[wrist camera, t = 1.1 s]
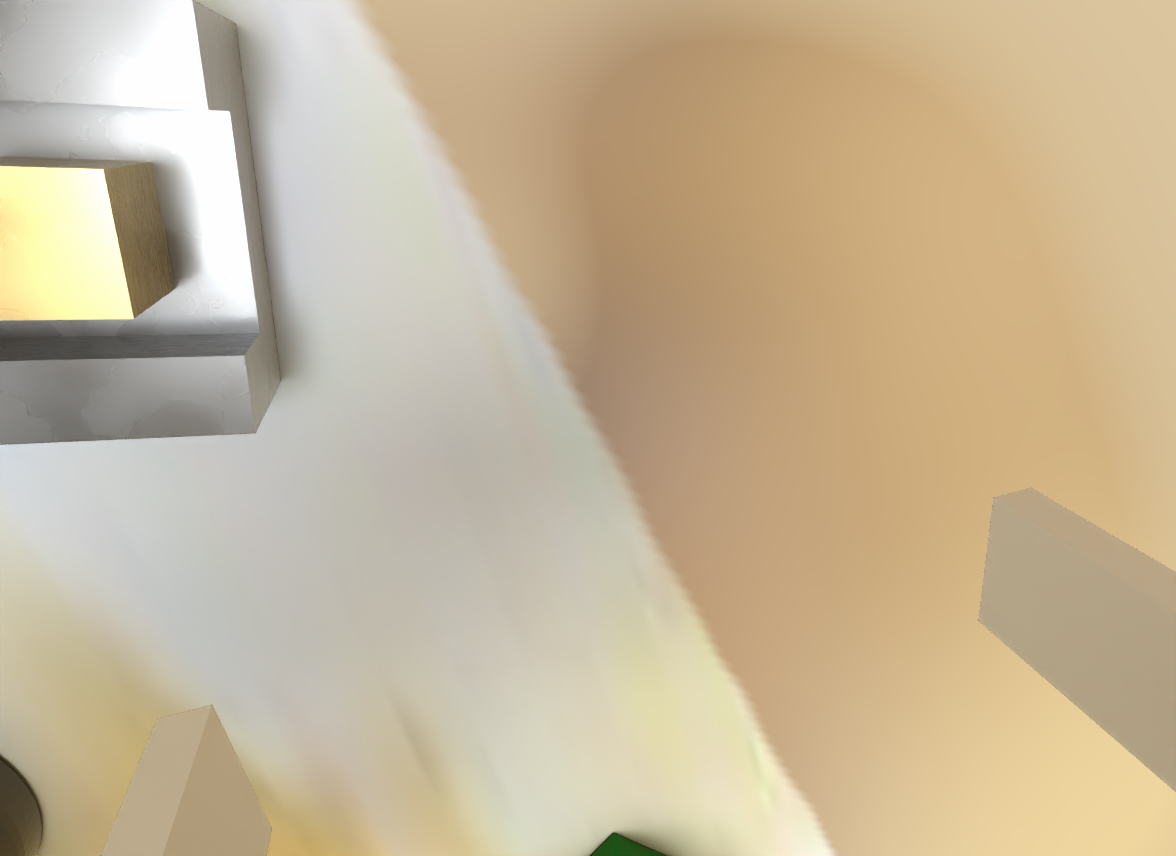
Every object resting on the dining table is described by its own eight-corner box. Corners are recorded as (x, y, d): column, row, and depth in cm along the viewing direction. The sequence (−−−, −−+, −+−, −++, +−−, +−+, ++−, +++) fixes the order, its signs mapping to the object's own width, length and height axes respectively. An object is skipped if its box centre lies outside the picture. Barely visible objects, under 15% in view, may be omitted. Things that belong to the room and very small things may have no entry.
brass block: (37, 289, 26) (-32, 320, 22) (3, 156, 24) (-78, 163, 20) (174, 289, 27) (133, 319, 23) (151, 161, 25) (103, 169, 21)
